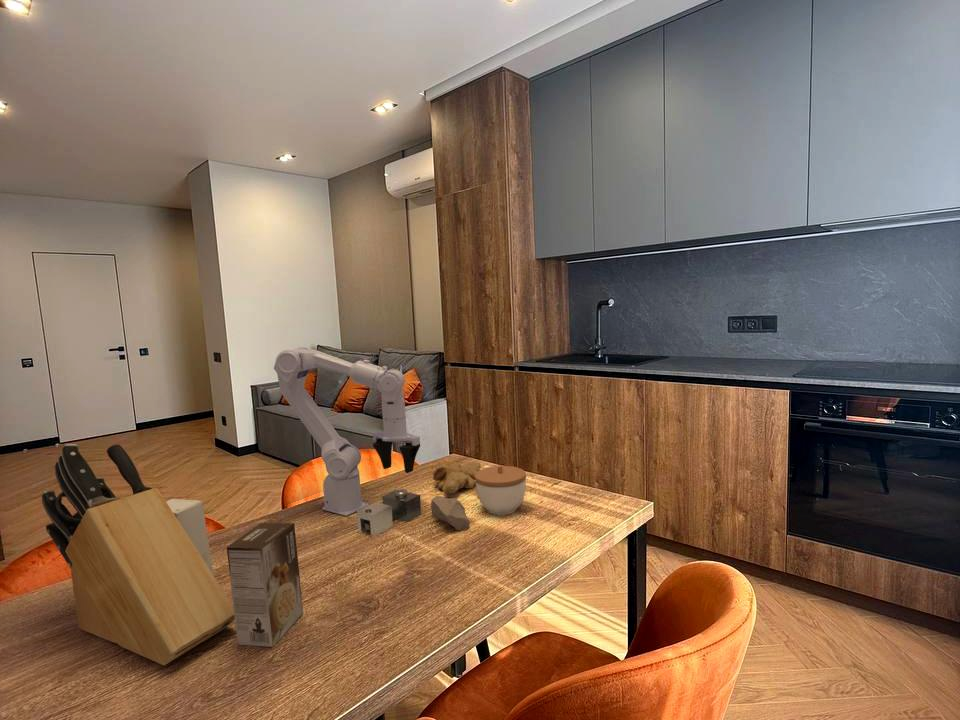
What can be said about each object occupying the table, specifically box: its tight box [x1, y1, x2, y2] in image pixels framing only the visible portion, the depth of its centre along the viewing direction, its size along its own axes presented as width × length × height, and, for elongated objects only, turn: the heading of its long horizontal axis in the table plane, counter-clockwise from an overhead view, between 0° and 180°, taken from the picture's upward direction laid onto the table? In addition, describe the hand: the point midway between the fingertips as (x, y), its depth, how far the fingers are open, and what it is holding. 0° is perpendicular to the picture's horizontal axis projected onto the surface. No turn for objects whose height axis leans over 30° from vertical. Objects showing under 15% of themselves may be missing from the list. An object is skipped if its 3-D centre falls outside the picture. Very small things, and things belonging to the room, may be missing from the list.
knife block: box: [41, 443, 235, 667], centre depth 85 cm, size 11×35×31 cm, turn 63°
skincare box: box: [165, 498, 214, 575], centre depth 99 cm, size 8×7×16 cm
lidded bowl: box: [474, 464, 527, 516], centre depth 126 cm, size 13×13×11 cm
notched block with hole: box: [356, 502, 394, 537], centre depth 119 cm, size 5×6×5 cm
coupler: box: [365, 488, 422, 531], centre depth 123 cm, size 8×14×6 cm, turn 145°
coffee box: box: [226, 522, 304, 648], centre depth 82 cm, size 9×6×16 cm
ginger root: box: [432, 462, 482, 494], centre depth 145 cm, size 16×16×8 cm
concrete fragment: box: [430, 495, 471, 531], centre depth 121 cm, size 7×14×6 cm, turn 18°
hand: (398, 469), depth 131 cm, fingers open, 7 cm apart
